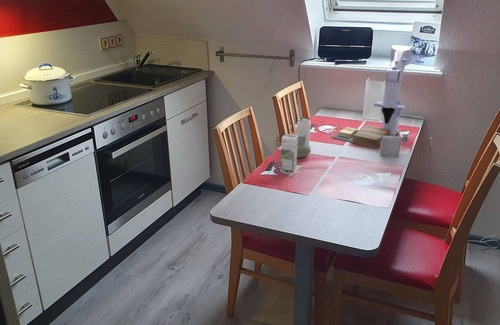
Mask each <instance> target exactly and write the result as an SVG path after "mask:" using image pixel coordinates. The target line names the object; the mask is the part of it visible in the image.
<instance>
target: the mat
mask: <svg viewBox="0 0 500 325" xmlns="http://www.w3.org/2000/svg"><path fill="white" fill-rule="evenodd" d="M360 130H361V129H360ZM360 130H359V129H358V130H357V132H358V131H360ZM331 139H335V140H339V141H343V142H349V143H352V141H353V136H352V137H351V138H348V137H343V136H339V132H338V133H336V134H334V135H332V136H331Z"/></svg>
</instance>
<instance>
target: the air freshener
mask: <svg viewBox="0 0 500 325" xmlns="http://www.w3.org/2000/svg"><path fill="white" fill-rule="evenodd" d="M292 135H298V147H297V159H302V158H305V157H307V156H309V154H310V153H311V150H312V149H311V146H310V145H309V144H307V143H305V140H306V135H305V134H304V133H296V132H294V133H292Z"/></svg>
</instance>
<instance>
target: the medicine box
mask: <svg viewBox="0 0 500 325" xmlns="http://www.w3.org/2000/svg"><path fill="white" fill-rule="evenodd" d="M401 145H402V138H401V137H400V136H399V135H394V136H392V135H390V136H382V139H381V145H380V146H379V147H380V148H379V154H380V157H385V158H386V157H390V158H399V157H400V150H401Z"/></svg>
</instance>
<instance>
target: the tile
mask: <svg viewBox="0 0 500 325" xmlns="http://www.w3.org/2000/svg"><path fill="white" fill-rule="evenodd" d="M357 130H359V129H357V128H353V127H348V126H346V127H344V128H343V129H341V130H340V131H338V133H339V136H343V137H348V138H351V137H352V136H353V135H354V134H355V133H357Z"/></svg>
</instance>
